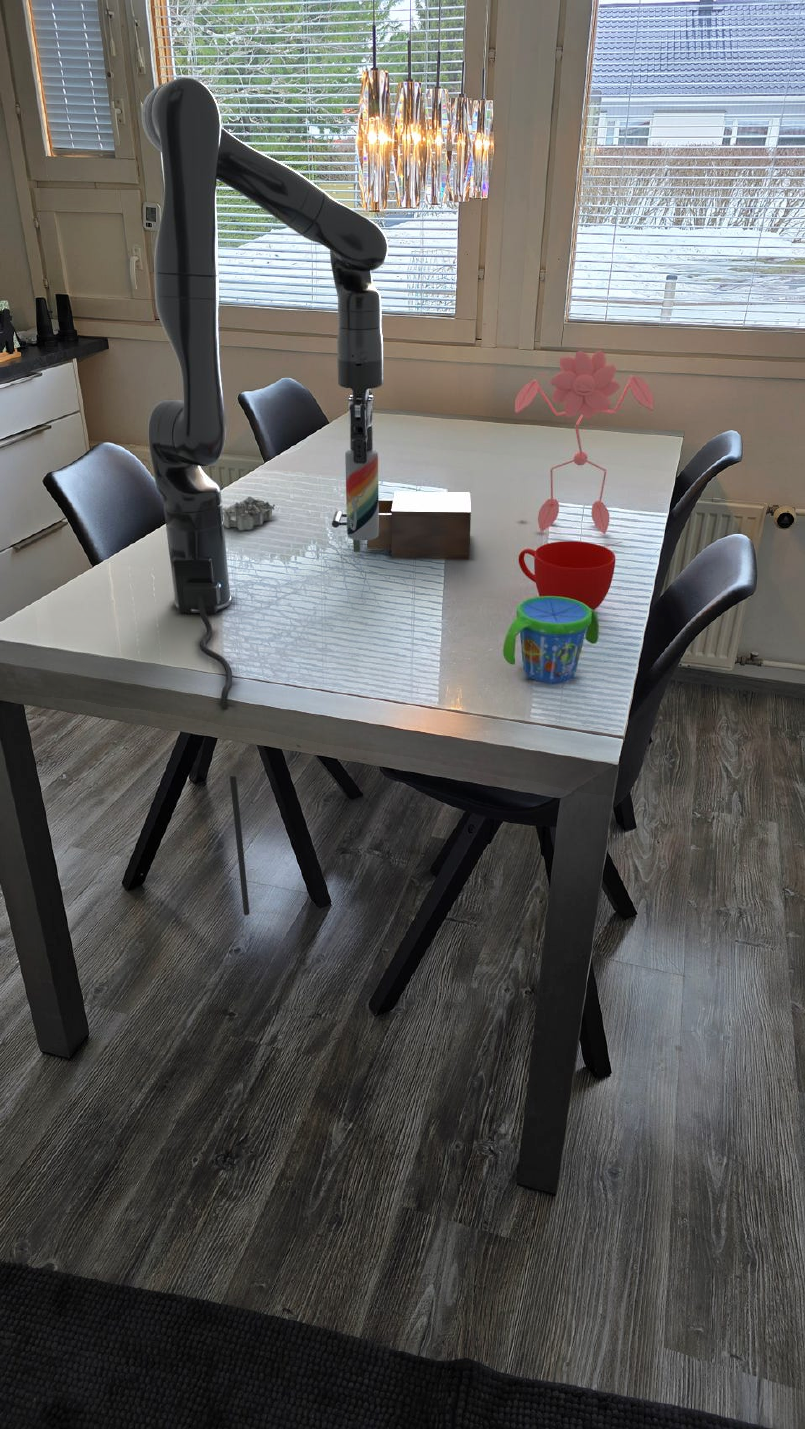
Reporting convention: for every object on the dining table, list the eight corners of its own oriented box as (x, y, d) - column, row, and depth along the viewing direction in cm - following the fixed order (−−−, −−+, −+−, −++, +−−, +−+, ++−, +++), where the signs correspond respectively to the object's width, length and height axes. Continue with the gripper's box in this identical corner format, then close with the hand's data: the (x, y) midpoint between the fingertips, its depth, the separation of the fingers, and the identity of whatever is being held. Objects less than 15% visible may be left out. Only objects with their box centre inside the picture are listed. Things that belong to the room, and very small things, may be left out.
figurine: (510, 520, 207) (519, 342, 190) (637, 527, 203) (658, 346, 186) (503, 545, 194) (512, 356, 177) (639, 553, 190) (661, 361, 173)
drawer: (331, 551, 189) (329, 514, 185) (337, 532, 198) (335, 496, 195) (425, 552, 188) (425, 515, 184) (426, 533, 197) (426, 497, 194)
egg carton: (245, 532, 201) (244, 513, 199) (217, 526, 205) (215, 506, 203) (279, 518, 209) (277, 499, 207) (251, 512, 212) (249, 493, 210)
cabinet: (391, 558, 188) (391, 511, 184) (394, 536, 199) (394, 491, 194) (469, 559, 188) (470, 512, 183) (468, 537, 198) (469, 492, 194)
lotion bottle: (341, 538, 179) (338, 424, 169) (357, 529, 183) (355, 417, 173) (368, 543, 176) (367, 428, 167) (384, 534, 181) (383, 421, 171)
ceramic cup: (537, 585, 176) (541, 530, 171) (624, 609, 167) (630, 552, 162) (495, 608, 167) (498, 551, 162) (584, 634, 158) (589, 575, 153)
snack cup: (575, 650, 153) (581, 587, 148) (614, 678, 145) (622, 614, 140) (484, 668, 148) (487, 604, 143) (520, 699, 139) (524, 632, 134)
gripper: (341, 348, 171) (344, 447, 179) (332, 363, 159) (335, 469, 167) (385, 349, 171) (385, 448, 179) (380, 363, 158) (380, 469, 167)
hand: (361, 457), depth 173 cm, fingers closed on lotion bottle, 5 cm apart
